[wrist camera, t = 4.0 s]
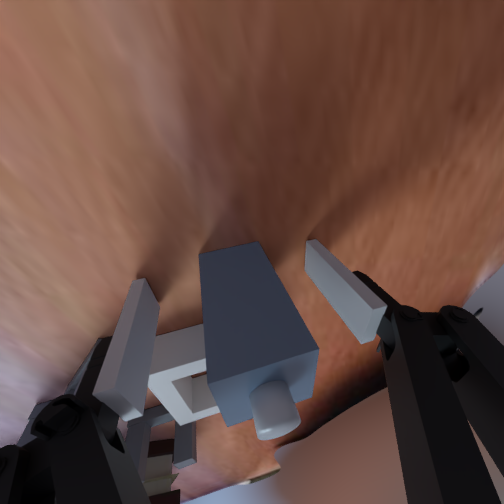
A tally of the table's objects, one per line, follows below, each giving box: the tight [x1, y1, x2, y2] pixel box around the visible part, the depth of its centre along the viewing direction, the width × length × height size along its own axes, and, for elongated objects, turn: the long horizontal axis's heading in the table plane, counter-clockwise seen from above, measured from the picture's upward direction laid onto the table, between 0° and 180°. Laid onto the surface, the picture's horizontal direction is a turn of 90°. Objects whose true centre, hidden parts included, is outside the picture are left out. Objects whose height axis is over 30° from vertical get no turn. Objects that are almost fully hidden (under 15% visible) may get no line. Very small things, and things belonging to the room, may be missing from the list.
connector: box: [199, 241, 319, 440], centre depth 11 cm, size 4×4×9 cm
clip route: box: [17, 338, 197, 483], centre depth 16 cm, size 11×14×5 cm
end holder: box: [148, 324, 220, 426], centre depth 18 cm, size 9×9×3 cm
